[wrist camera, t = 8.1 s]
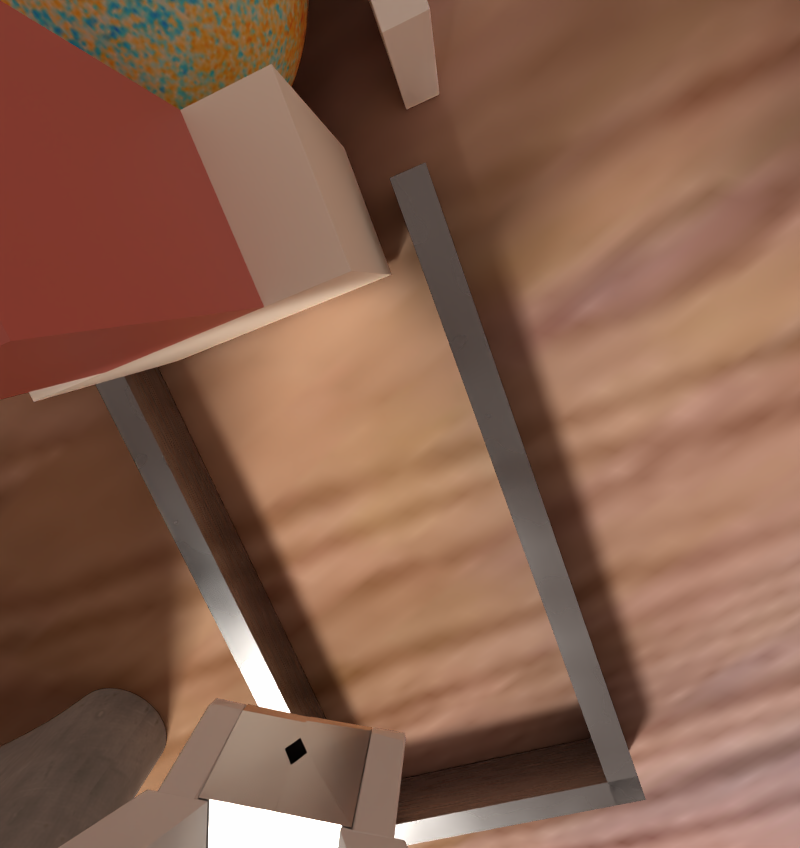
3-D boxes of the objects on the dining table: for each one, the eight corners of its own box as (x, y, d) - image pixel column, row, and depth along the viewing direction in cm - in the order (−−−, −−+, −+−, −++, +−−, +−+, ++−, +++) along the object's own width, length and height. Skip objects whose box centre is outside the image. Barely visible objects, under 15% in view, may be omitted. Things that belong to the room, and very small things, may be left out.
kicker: (178, 360, 14) (-416, 530, 5) (125, 248, 14) (-689, 169, 4) (391, 274, 13) (198, 257, 3) (343, 147, 12) (-51, -304, 3)
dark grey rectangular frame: (346, 812, 18) (335, 859, 16) (103, 317, 14) (63, 321, 13) (629, 753, 16) (645, 799, 15) (429, 175, 13) (425, 162, 11)
